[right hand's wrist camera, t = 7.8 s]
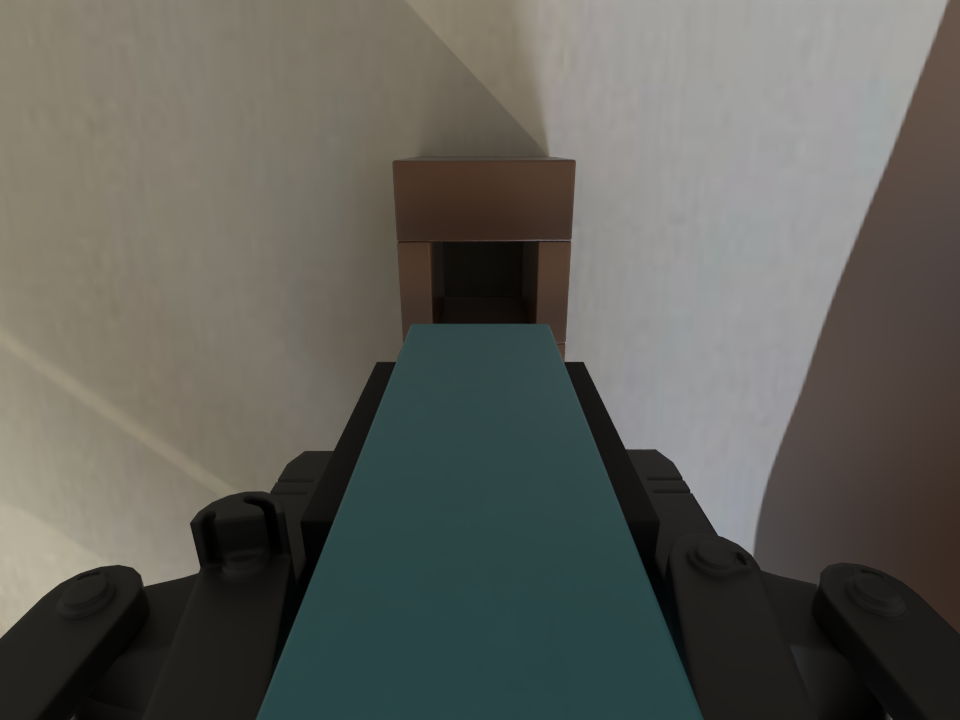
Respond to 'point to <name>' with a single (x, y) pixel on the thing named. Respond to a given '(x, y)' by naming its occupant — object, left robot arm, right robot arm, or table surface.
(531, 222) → the hole block
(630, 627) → the peg
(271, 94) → the table surface
